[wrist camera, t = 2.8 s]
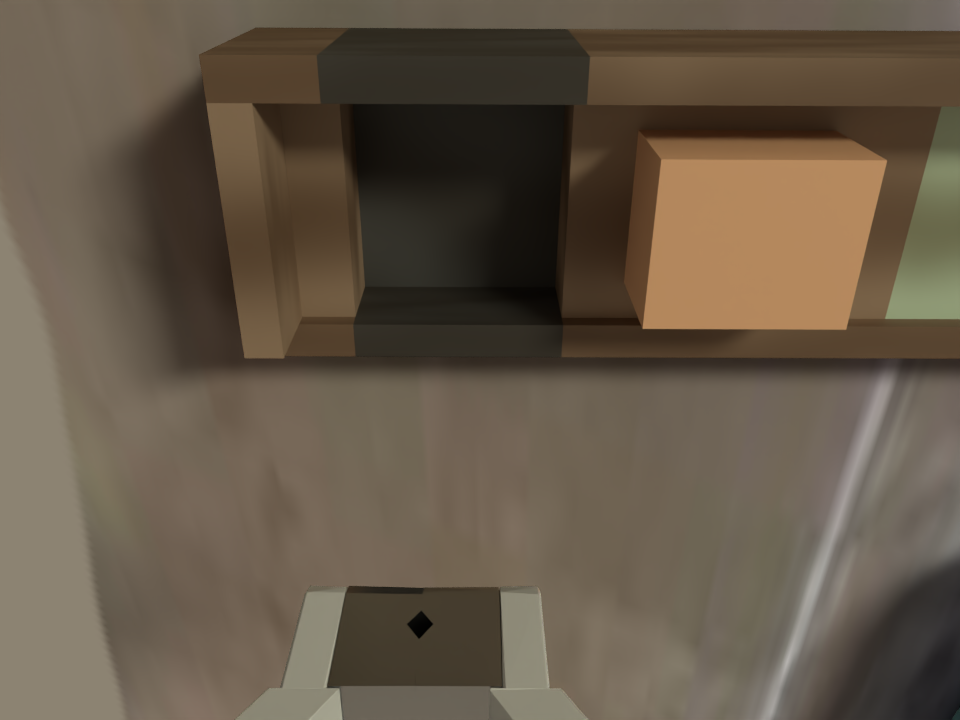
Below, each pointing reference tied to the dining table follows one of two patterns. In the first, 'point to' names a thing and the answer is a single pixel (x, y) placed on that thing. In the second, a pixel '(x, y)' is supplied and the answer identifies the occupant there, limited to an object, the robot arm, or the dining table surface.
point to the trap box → (552, 183)
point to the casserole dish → (957, 715)
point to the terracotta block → (749, 228)
